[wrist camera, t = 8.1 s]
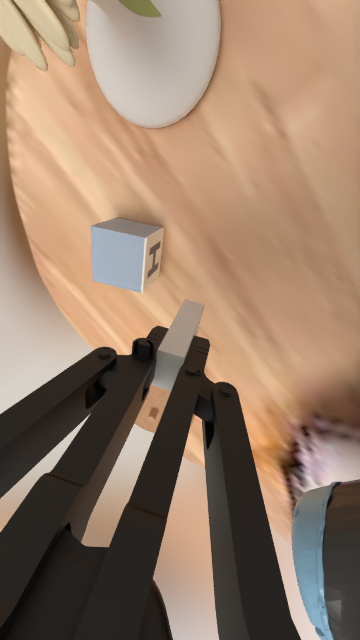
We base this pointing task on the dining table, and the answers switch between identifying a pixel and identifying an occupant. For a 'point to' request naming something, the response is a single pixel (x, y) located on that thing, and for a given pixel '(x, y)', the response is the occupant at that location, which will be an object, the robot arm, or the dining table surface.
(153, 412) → the lidded jar
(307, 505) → the robot arm
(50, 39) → the flower in vase
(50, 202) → the dining table surface
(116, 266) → the block
